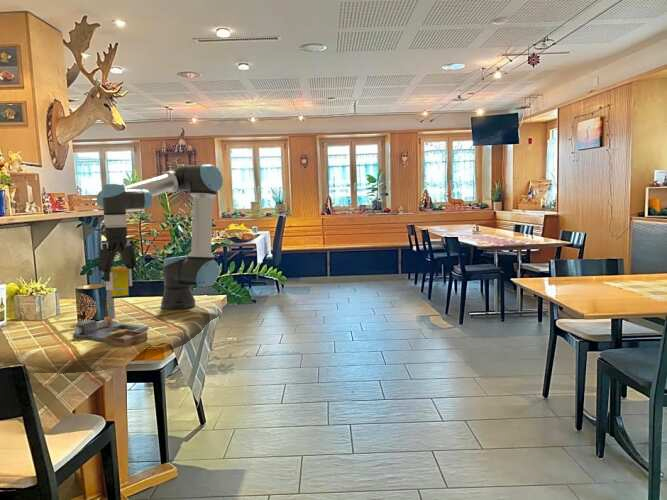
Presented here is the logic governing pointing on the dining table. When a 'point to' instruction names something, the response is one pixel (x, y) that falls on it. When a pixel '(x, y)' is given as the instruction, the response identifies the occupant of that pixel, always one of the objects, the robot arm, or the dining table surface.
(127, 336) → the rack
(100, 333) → the socket block
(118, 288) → the supplement box
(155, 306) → the dining table surface
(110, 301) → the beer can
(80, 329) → the drift key
